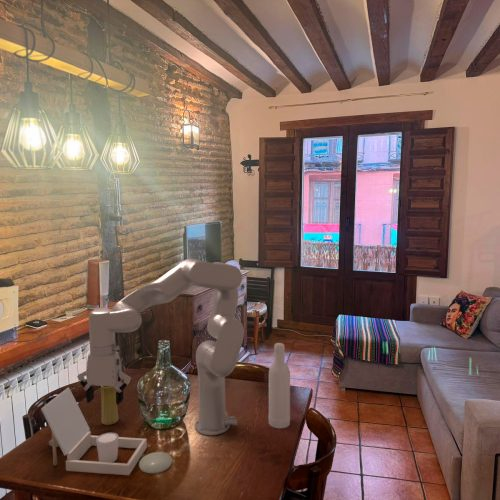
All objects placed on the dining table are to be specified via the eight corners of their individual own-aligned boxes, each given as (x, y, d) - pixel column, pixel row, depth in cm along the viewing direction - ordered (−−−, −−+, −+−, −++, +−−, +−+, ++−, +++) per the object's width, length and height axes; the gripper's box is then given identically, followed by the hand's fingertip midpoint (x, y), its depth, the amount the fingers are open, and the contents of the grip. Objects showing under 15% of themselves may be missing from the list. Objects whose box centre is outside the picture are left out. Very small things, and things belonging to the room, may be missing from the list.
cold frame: (146, 447, 145) (144, 390, 142) (129, 475, 130) (126, 412, 128) (70, 442, 148) (67, 387, 146) (44, 469, 133) (40, 408, 131)
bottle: (279, 431, 154) (279, 349, 151) (264, 423, 160) (263, 344, 157) (294, 423, 159) (295, 344, 156) (279, 415, 165) (279, 339, 162)
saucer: (175, 455, 140) (175, 453, 140) (166, 474, 130) (166, 472, 130) (146, 453, 141) (145, 451, 141) (134, 472, 131) (134, 469, 131)
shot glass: (123, 454, 140) (123, 434, 140) (110, 466, 134) (109, 445, 133) (106, 450, 143) (105, 430, 142) (92, 462, 136) (91, 441, 135)
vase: (121, 417, 165) (119, 381, 163) (114, 425, 159) (112, 388, 157) (105, 416, 166) (104, 380, 164) (98, 424, 160) (96, 387, 158)
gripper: (134, 346, 138) (135, 398, 139) (83, 344, 140) (85, 394, 142) (124, 354, 130) (125, 409, 132) (70, 351, 133) (72, 405, 134)
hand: (104, 401), depth 137 cm, fingers open, 9 cm apart
